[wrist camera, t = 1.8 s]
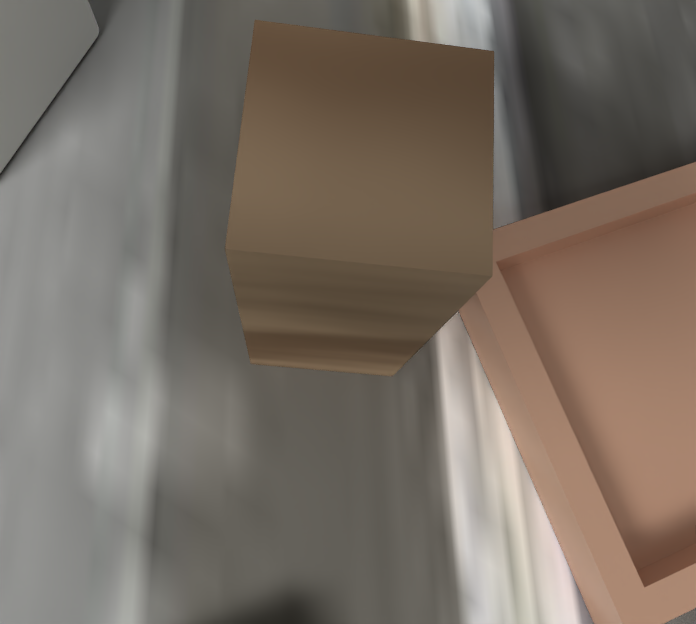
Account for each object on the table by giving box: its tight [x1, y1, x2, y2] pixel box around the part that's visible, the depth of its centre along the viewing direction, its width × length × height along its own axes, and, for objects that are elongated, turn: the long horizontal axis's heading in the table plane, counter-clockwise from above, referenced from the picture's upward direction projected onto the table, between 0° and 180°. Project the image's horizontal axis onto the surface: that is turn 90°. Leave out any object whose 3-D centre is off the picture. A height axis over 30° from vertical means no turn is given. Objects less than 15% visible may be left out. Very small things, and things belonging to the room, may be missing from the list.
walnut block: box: [225, 20, 494, 376], centre depth 16 cm, size 4×4×10 cm
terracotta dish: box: [458, 162, 696, 624], centre depth 20 cm, size 12×12×2 cm
